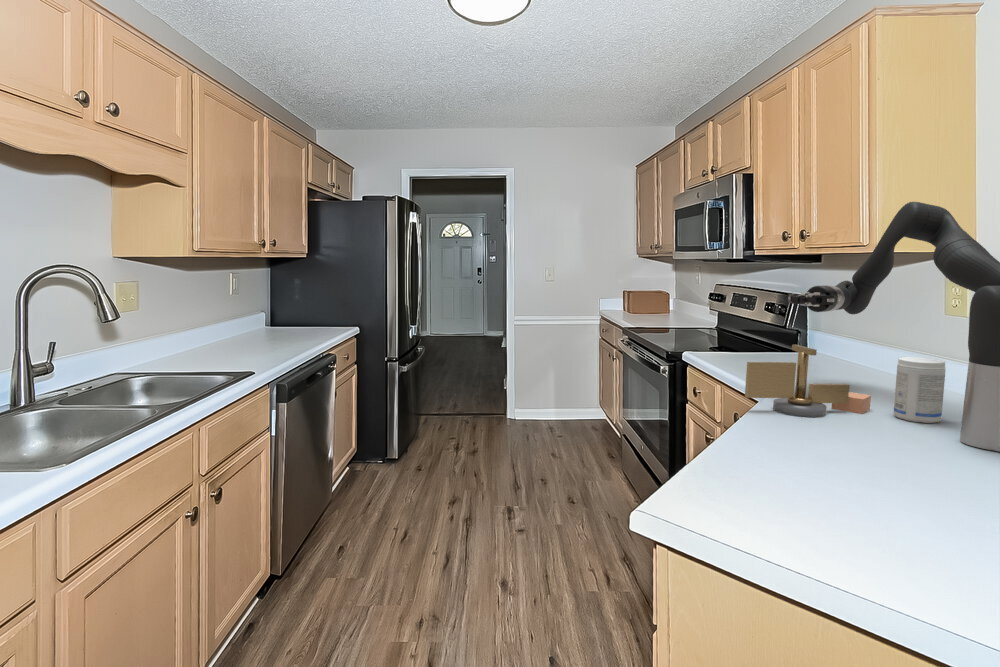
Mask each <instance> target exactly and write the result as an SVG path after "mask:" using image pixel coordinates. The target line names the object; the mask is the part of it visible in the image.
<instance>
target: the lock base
mask: <svg viewBox="0 0 1000 667" xmlns="http://www.w3.org/2000/svg"><path fill="white" fill-rule="evenodd" d="M787 400H788V398H774V400H773V405H772V409H773V410H774V411H775V412H777V413H780V414H784V415H789V416H794V417H802V418H803V417H804V418H821V417H824V416H827V405H826V403H812V404H811V405H799V404H793V403H790V402H788V401H787Z"/></svg>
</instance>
